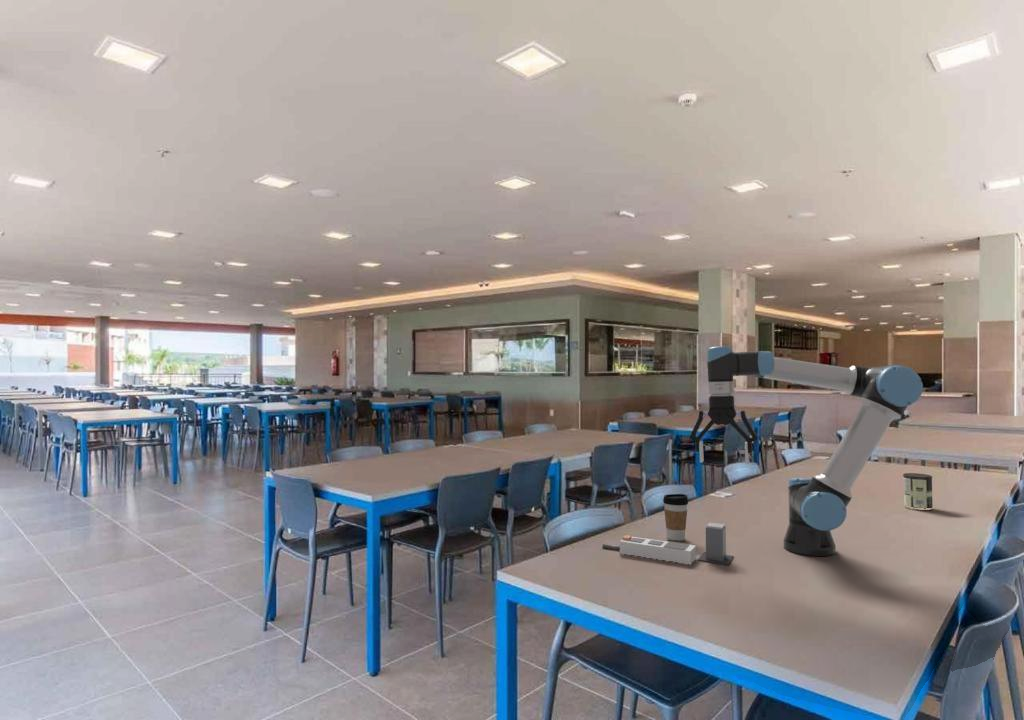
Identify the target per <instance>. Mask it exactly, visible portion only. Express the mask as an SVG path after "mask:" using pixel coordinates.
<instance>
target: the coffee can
mask: <svg viewBox="0 0 1024 720" xmlns="http://www.w3.org/2000/svg"><path fill="white" fill-rule="evenodd" d="M902 477H903V482H902V483H903V506H904V505H906V506H909V507H913V508H924V509H926V508H932V507H933V476H932V475H930V474H926V473H925V474H924V473H913V472H908V473H907V472H906V473H903V474H902Z"/></svg>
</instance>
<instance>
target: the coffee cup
mask: <svg viewBox="0 0 1024 720" xmlns="http://www.w3.org/2000/svg"><path fill="white" fill-rule="evenodd" d="M688 498H689V497H688V495H687V494H684V493H674V494H673V493H672V494H669V493H668V494H665V495H664V496H663V499H662V501H663V502H662V503H663V505H664V508H663V510H664V519H665V520H664V521H665V529H666V537H667V539H668V540H669V539H671V540H670V541H674V540H682V541H684V540H685V539H686V529H687V528H686V526H687V518H688V517H687V516H688V509H687V506H688V504H689V500H688Z"/></svg>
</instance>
